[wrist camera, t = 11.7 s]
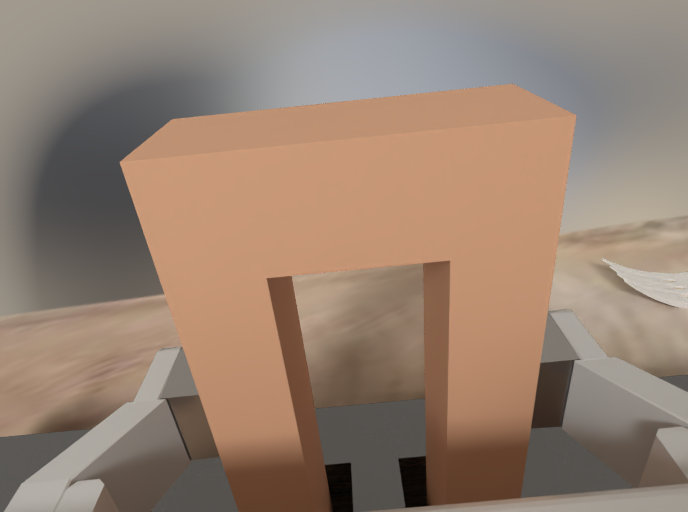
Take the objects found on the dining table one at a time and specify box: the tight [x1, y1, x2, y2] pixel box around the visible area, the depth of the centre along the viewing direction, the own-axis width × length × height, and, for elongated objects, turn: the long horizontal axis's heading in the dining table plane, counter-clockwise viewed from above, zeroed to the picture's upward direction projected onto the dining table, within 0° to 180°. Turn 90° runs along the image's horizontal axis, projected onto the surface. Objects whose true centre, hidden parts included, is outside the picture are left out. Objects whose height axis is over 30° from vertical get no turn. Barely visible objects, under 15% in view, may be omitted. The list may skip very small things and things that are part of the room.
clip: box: [120, 84, 576, 512], centre depth 10 cm, size 2×6×12 cm, turn 92°
